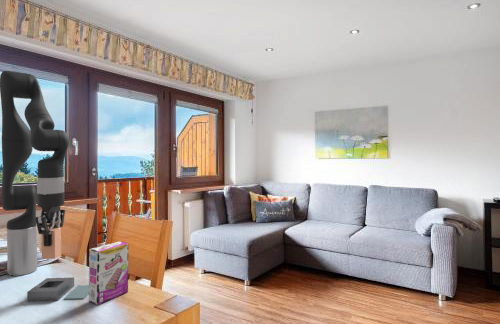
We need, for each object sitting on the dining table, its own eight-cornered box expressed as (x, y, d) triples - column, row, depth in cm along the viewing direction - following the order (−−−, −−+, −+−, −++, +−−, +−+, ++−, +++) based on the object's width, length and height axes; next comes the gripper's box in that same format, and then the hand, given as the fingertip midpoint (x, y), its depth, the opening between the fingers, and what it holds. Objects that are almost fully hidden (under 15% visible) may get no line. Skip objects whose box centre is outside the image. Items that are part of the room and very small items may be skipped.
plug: (48, 254, 107) (48, 227, 106) (61, 254, 107) (60, 227, 107) (41, 258, 103) (41, 230, 102) (55, 258, 103) (54, 230, 103)
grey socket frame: (46, 286, 110) (46, 278, 110) (74, 286, 111) (74, 277, 111) (27, 301, 99) (27, 292, 99) (57, 300, 100) (57, 291, 100)
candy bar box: (98, 306, 96) (97, 251, 96) (88, 302, 99) (87, 249, 99) (129, 292, 106) (129, 242, 106) (119, 288, 109) (119, 240, 108)
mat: (78, 286, 110) (78, 285, 110) (96, 285, 111) (96, 284, 111) (63, 299, 100) (63, 298, 100) (83, 299, 101) (83, 297, 101)
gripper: (50, 188, 111) (51, 238, 111) (25, 194, 97) (26, 251, 97) (73, 188, 111) (73, 237, 112) (51, 194, 97) (52, 250, 98)
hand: (51, 243), depth 105 cm, fingers closed on plug, 4 cm apart
